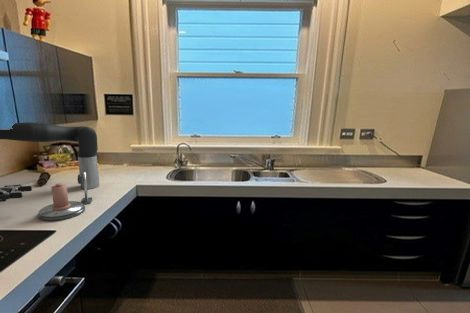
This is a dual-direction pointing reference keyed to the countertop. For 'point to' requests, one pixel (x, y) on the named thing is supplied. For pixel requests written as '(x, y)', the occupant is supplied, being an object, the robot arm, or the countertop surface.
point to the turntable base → (61, 217)
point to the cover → (60, 197)
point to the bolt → (43, 178)
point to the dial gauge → (83, 180)
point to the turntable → (50, 213)
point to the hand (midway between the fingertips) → (26, 191)
